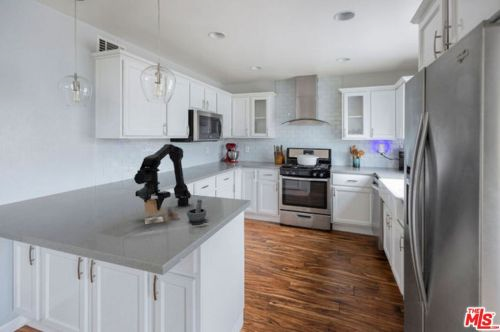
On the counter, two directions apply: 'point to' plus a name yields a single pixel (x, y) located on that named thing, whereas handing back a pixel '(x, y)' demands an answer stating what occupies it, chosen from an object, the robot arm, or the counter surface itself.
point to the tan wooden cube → (151, 206)
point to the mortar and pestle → (197, 214)
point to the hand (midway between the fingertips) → (153, 209)
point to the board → (161, 217)
